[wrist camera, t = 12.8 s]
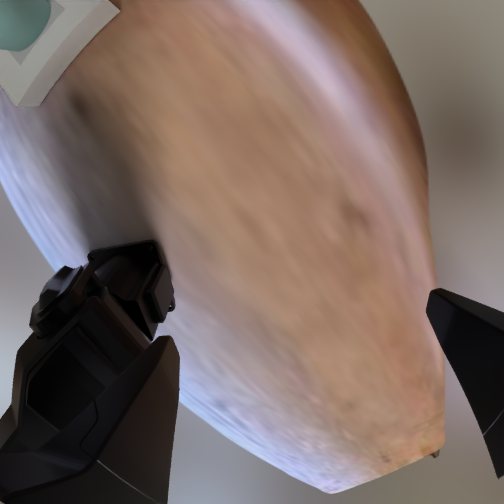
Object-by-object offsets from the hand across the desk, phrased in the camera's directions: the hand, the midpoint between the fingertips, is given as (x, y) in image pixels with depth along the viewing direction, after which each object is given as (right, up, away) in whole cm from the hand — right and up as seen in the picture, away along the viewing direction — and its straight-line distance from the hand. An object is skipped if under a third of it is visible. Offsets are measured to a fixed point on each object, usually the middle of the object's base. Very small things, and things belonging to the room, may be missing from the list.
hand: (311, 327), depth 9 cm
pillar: (-19, +19, +1) cm, 27 cm away
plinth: (-19, +21, +4) cm, 28 cm away
